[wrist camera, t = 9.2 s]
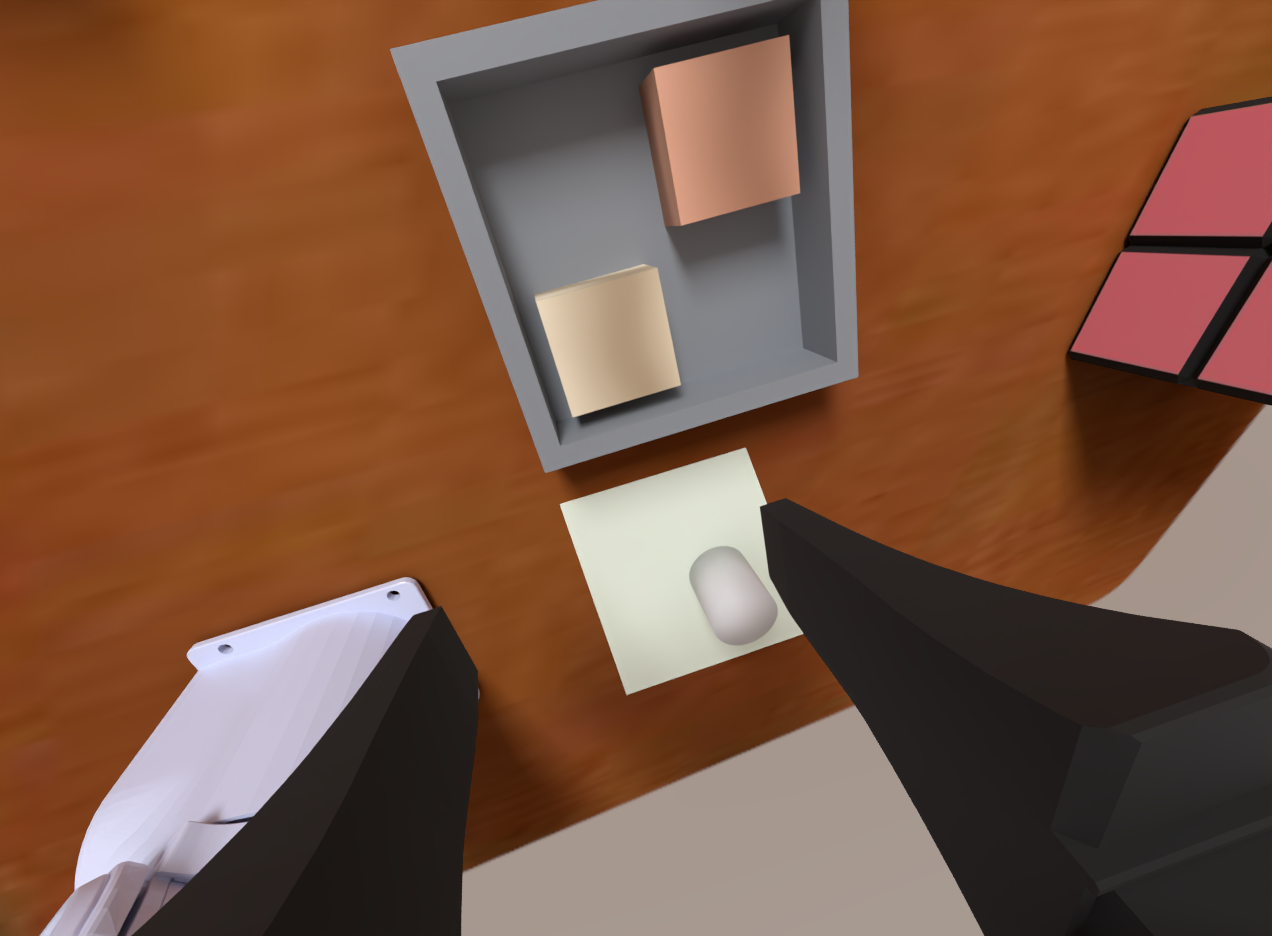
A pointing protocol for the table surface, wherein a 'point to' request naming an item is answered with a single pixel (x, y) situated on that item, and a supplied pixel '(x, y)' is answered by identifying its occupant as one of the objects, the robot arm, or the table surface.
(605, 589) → the lid
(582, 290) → the beech block
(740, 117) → the terracotta block
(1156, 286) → the puzzle cube
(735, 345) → the box
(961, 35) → the table surface
